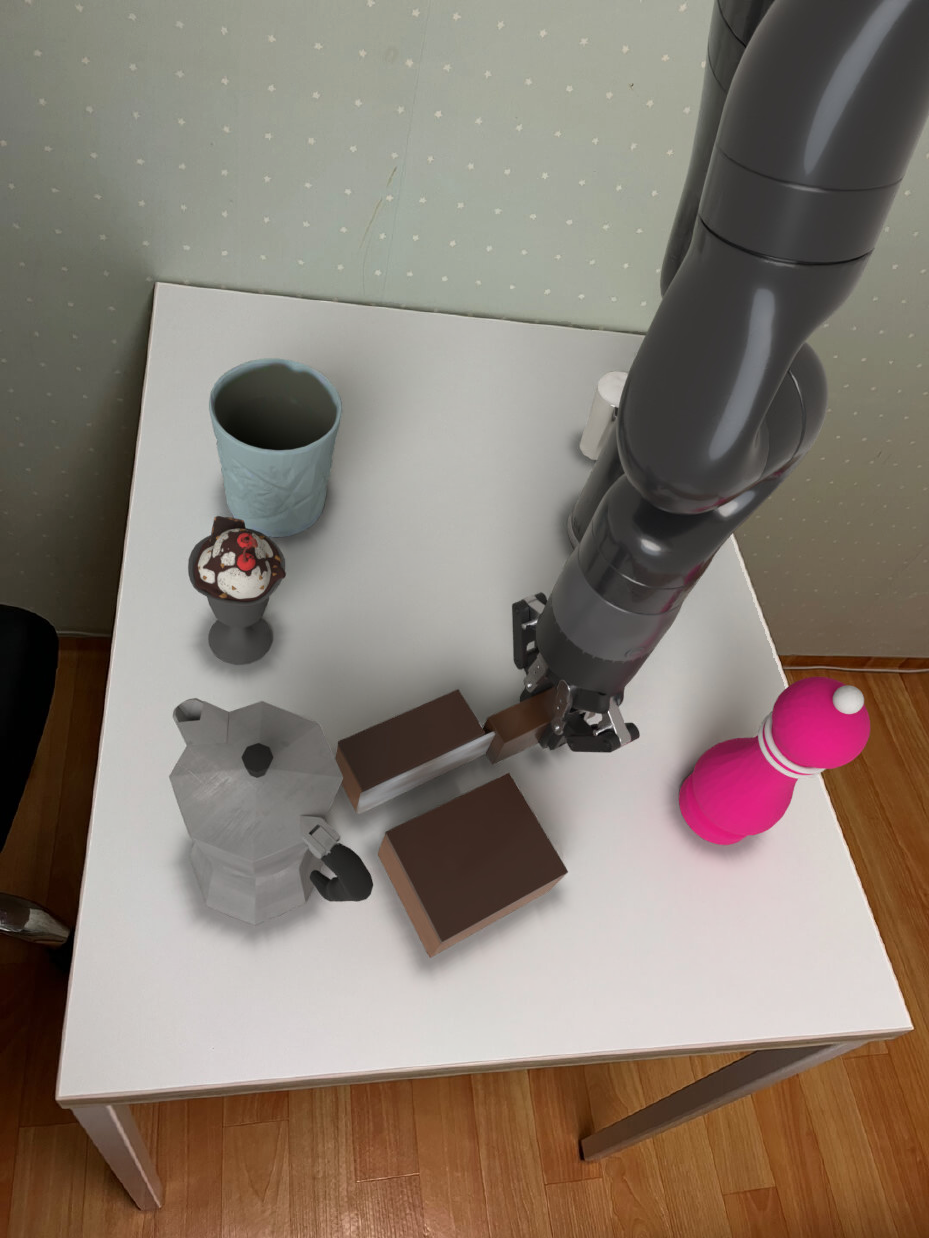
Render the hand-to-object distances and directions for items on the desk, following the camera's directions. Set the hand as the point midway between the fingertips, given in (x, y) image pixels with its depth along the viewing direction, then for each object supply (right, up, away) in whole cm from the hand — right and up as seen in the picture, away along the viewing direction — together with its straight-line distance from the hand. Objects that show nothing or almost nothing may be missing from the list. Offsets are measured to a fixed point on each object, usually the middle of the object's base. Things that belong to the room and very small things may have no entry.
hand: (539, 724), depth 69 cm
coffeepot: (-20, -9, -9) cm, 23 cm away
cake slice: (-11, -3, -3) cm, 11 cm away
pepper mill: (+14, -7, 0) cm, 16 cm away
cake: (-6, -10, -6) cm, 13 cm away
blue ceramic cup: (-23, +19, +8) cm, 31 cm away
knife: (-5, -2, -2) cm, 6 cm away
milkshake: (+8, +26, +20) cm, 33 cm away
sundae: (-24, +7, 0) cm, 25 cm away
